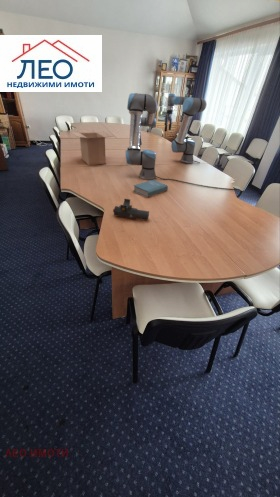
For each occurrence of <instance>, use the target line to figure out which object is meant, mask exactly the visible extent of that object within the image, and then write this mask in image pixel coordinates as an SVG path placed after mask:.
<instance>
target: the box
mask: <svg viewBox="0 0 280 497" xmlns="http://www.w3.org/2000/svg"><path fill="white" fill-rule="evenodd" d="M70 133H71V134H72V135H74V136H75V137H77V138H79V144H80V153H81V160H83V162H85V163H86V165H87V166H95V165H97V166H98V165H106V163H107V162H106V158H107V157H106V138H113V137H114V136H113V135H111V134H109V133H108V132H105V131H98V132H96V131H95V130H92V129H91V130H77V132H76V131H70Z"/></svg>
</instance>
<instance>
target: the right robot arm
mask: <svg viewBox="0 0 280 497" xmlns="http://www.w3.org/2000/svg"><path fill="white" fill-rule="evenodd" d="M167 98H168V99H167V106H166V116H165V120H164V132H165V133H166V132H168V131H171V130H172V125H173V114H174V110H175V106H182V109H181V110H182V113H183V116H182V120H181V123H180V125H179V126H180V127H179V131H178V133H177V136H176V137H175V139H174V140H173V141H171V144H170V145H171V146H170V147H171V151H172V152H173V153H175V154H176V153H182V155H181V157H180V159H179V162H180V163H183V164H187V165H188V164H191V165H192V164H194V163H197V164H200V163H201V162H200V161H197V160H195V159H194V153H195V148H196V141H195V140H191V139H187V138H186V137H187V135H188V131H189V129H190V125H191V122H192V119H193V117H195V115H196V113H203V112H204V111H205V110H206V109H207V105H208V104H207V100H205V98H202V97H192V96H191V97H190V96H178V95H176V93H168V97H167Z"/></svg>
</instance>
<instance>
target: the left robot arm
mask: <svg viewBox="0 0 280 497" xmlns="http://www.w3.org/2000/svg"><path fill="white" fill-rule="evenodd" d="M126 107H127V108H126V109H127V111H128V113H129V114H130V120H129V121H130V122H129V145H128V147H127V149H126V150H125V161H126V164H127V165H130V166H141V169H140V172H139V174H138V175H139V178H140V179H142V180H146V181H150V180H156V178H158V179H160V180H163V181H164V180H165V181H173V182H174V181H176V182H178V183H179V182H180V183H183V184H189V185H194V186H199V187H205V188H210V189H211V188H212V189H220V190H232V191H237V190H238V189H236V188H226V187H216V186H208V185H203V184H199V183H193V182H188V181H183V180H178V179H173V178H163V177H159V176H157V174H156V169H155V167H156V159H157V158H156V157H157V153H156V152H155V151H154V150H152V149H146V148H145V149H142V148H141V146H142V144H143V143H142V127H149V128H155V127H156V124H157V118H156V112H157V111H158V108H159V105H158V102H157V100H156V98H155V97H154V96H153V95H152V94H148V93H138V92H134V93H133V92H131V93H129V95H128V99H127V106H126ZM144 112H146V117H143V116H142V115H143V113H144ZM141 149H142V150H141Z"/></svg>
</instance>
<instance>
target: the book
mask: <svg viewBox="0 0 280 497" xmlns="http://www.w3.org/2000/svg"><path fill="white" fill-rule="evenodd" d="M168 187H169V186H168V184H166V183H164V182H160V181H159V180H156V179H153V180H146V181H143V182H140V183H137V184H134V185H133V193H135V194H138V195H140V196H142V197H145V198H150V197H153V196H156V195H159V194H161V193H164V192H167V191H168Z"/></svg>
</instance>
